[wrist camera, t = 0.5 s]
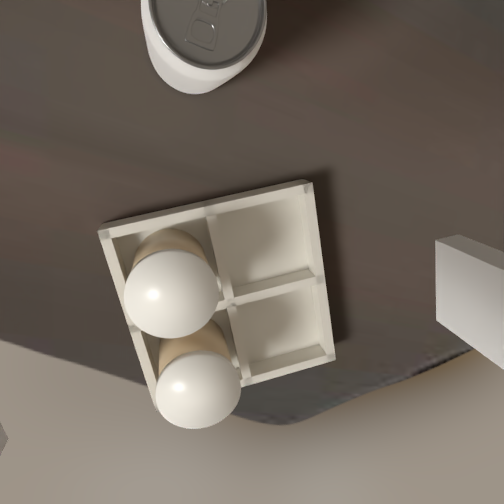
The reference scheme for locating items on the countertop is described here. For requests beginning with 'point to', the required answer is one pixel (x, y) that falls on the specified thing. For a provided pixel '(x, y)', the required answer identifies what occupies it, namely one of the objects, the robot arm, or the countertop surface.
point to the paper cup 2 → (196, 378)
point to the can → (202, 39)
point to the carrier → (245, 277)
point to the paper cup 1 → (170, 285)
